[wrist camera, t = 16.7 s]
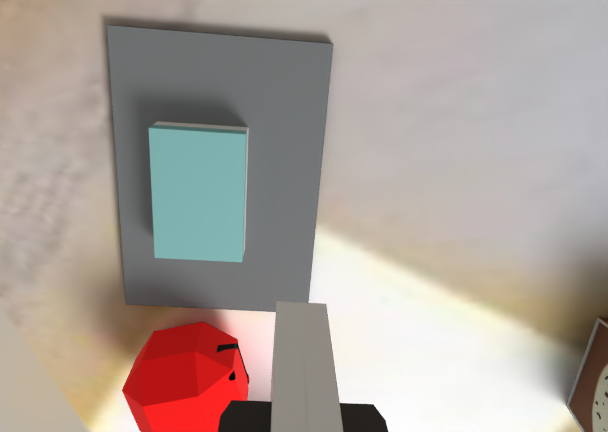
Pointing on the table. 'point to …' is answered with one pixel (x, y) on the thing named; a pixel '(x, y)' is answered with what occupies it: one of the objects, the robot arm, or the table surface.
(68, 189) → the table surface
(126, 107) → the mat
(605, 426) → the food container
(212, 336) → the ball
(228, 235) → the tile
